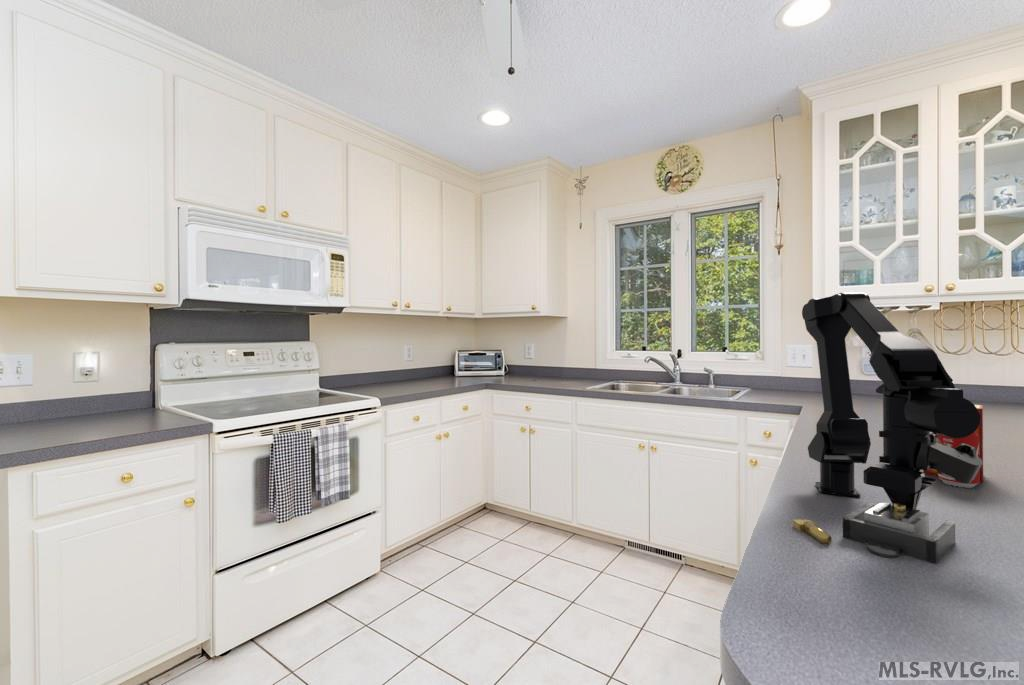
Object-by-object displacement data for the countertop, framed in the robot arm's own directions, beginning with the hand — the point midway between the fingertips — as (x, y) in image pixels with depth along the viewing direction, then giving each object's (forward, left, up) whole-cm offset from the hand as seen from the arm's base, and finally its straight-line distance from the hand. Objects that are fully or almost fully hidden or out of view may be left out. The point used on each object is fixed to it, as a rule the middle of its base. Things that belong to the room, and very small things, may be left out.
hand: (907, 522), depth 75 cm
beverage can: (-33, +18, -2) cm, 38 cm away
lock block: (+5, -3, -2) cm, 6 cm away
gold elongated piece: (+8, -14, -2) cm, 16 cm away
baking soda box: (-41, +20, -2) cm, 46 cm away
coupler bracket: (+5, -3, -2) cm, 6 cm away
